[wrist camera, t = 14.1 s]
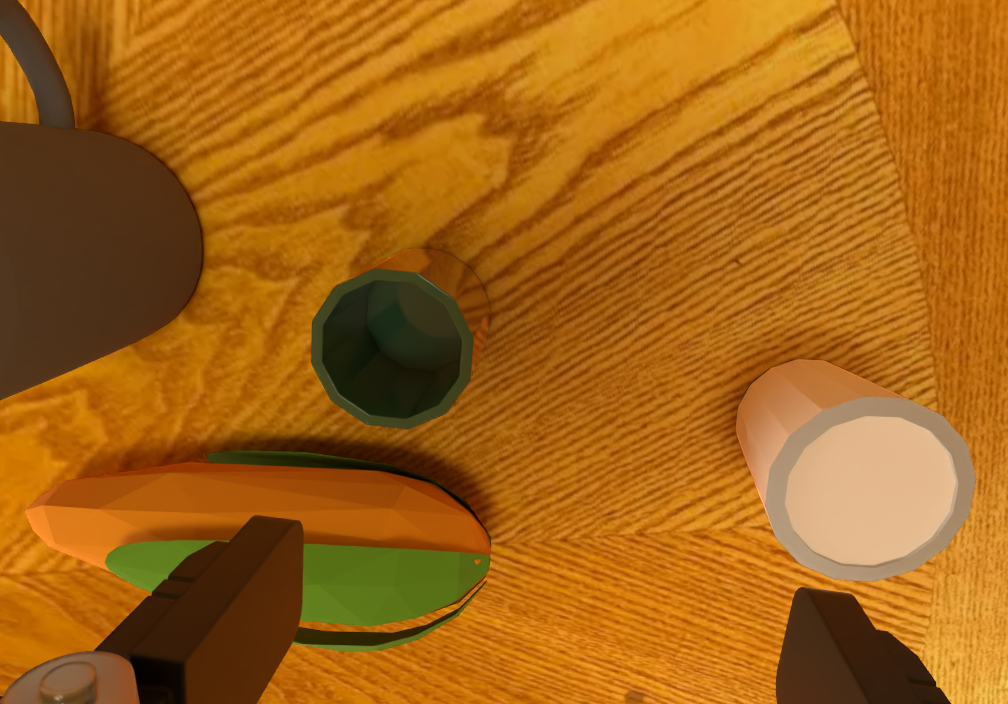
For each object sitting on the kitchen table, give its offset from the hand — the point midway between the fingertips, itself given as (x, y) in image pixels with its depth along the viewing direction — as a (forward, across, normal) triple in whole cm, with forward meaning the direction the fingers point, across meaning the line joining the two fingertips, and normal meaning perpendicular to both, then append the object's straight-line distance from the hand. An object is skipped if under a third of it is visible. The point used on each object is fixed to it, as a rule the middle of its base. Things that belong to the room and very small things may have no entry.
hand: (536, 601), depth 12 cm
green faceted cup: (+20, +6, 0) cm, 20 cm away
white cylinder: (+20, -11, +3) cm, 23 cm away
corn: (+20, +12, +10) cm, 25 cm away
